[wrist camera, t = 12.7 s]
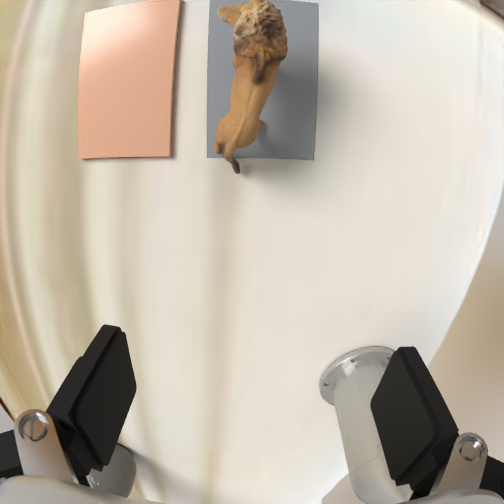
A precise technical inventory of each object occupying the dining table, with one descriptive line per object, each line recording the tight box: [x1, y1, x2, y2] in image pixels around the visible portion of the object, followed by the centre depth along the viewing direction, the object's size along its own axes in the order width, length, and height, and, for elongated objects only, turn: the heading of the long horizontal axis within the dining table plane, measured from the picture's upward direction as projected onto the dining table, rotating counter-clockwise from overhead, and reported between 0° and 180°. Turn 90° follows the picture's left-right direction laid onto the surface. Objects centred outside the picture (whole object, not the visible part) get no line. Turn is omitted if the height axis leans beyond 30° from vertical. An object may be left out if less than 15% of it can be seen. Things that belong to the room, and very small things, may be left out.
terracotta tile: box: [78, 0, 181, 159], centre depth 24 cm, size 10×16×1 cm, turn 176°
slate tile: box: [207, 0, 318, 160], centre depth 25 cm, size 10×16×1 cm, turn 179°
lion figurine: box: [213, 0, 288, 174], centre depth 21 cm, size 15×5×9 cm, turn 175°
